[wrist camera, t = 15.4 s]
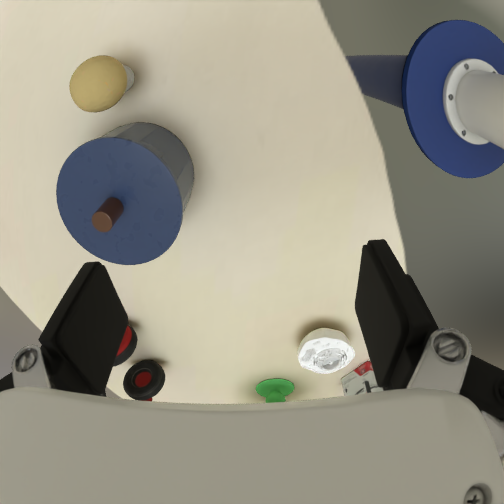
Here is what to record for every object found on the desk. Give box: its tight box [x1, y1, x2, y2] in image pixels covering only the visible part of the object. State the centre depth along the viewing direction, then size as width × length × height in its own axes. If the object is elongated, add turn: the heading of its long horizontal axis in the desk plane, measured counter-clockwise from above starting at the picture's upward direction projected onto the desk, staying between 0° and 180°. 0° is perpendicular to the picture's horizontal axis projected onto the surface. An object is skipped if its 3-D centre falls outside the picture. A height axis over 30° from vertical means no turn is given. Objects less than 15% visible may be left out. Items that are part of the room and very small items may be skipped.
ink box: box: [341, 361, 383, 396], centre depth 60 cm, size 8×5×12 cm, turn 145°
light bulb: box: [69, 56, 134, 112], centre depth 28 cm, size 6×6×10 cm
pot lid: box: [56, 137, 183, 265], centre depth 30 cm, size 16×16×4 cm
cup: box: [256, 379, 294, 403], centre depth 62 cm, size 14×14×16 cm
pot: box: [101, 122, 194, 212], centre depth 36 cm, size 15×15×10 cm
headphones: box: [100, 325, 165, 401], centre depth 52 cm, size 18×10×20 cm, turn 14°
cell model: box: [297, 328, 355, 374], centre depth 55 cm, size 10×12×7 cm
